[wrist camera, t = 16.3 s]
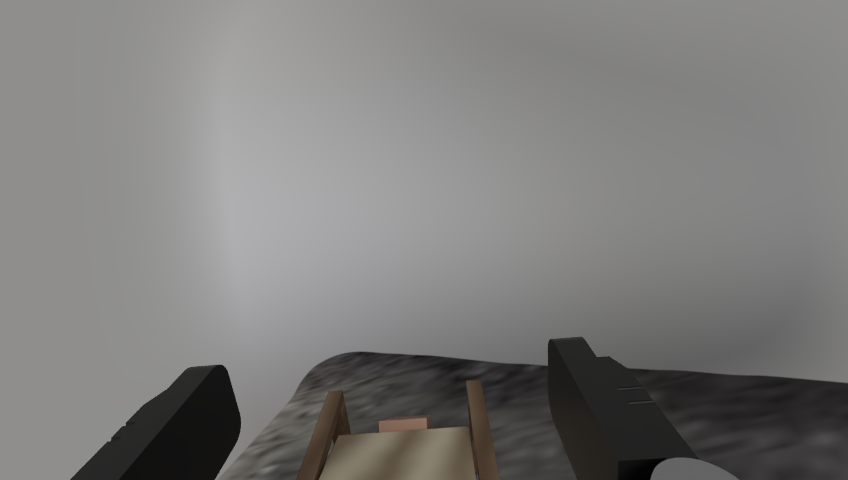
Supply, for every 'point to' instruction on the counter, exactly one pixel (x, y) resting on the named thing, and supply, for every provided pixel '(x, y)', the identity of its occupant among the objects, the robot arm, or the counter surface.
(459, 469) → the trapdoor
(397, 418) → the block
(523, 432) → the counter surface
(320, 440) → the wooden legged stool
